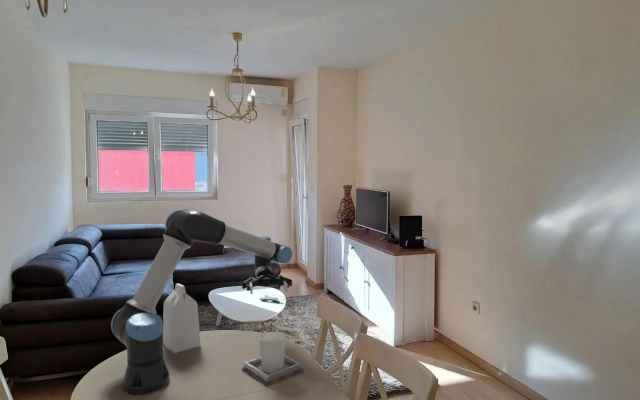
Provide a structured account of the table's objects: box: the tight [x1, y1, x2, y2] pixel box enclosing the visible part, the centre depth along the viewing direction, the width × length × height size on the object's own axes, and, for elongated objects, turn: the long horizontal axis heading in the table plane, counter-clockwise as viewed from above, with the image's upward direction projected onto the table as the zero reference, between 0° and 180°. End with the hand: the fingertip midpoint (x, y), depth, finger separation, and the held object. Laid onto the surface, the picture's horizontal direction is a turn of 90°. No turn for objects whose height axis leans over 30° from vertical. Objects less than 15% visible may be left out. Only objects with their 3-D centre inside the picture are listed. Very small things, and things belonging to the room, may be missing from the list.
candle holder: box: [258, 331, 287, 373], centre depth 156 cm, size 10×10×12 cm
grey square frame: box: [243, 354, 302, 383], centre depth 156 cm, size 15×15×2 cm
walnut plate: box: [241, 362, 304, 387], centre depth 156 cm, size 16×16×1 cm
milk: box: [162, 283, 201, 354], centre depth 179 cm, size 12×12×26 cm
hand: (269, 289), depth 164 cm, fingers open, 13 cm apart
